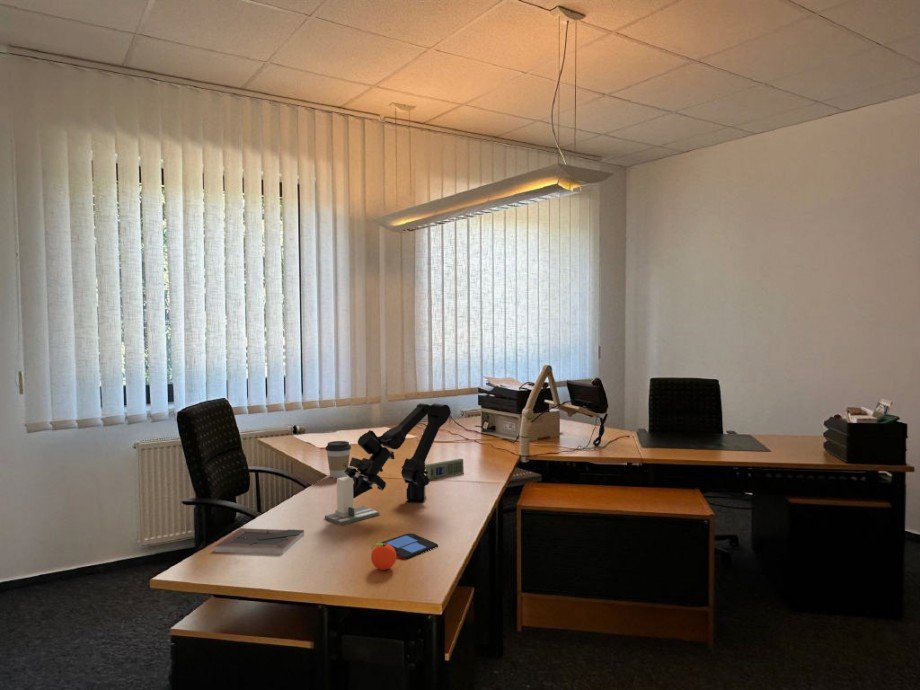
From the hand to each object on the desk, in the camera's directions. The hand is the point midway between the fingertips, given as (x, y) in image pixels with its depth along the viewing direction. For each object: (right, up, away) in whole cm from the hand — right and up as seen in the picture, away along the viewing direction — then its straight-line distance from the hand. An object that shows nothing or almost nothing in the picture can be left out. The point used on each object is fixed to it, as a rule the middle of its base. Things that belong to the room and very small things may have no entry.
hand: (350, 498), depth 217 cm
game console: (+22, -8, -30) cm, 38 cm away
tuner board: (0, -7, +1) cm, 7 cm away
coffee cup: (-15, -5, +58) cm, 60 cm away
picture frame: (-24, -9, -25) cm, 35 cm away
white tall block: (-1, -5, -2) cm, 6 cm away
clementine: (+17, -8, -45) cm, 49 cm away
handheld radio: (+29, -5, +56) cm, 63 cm away
